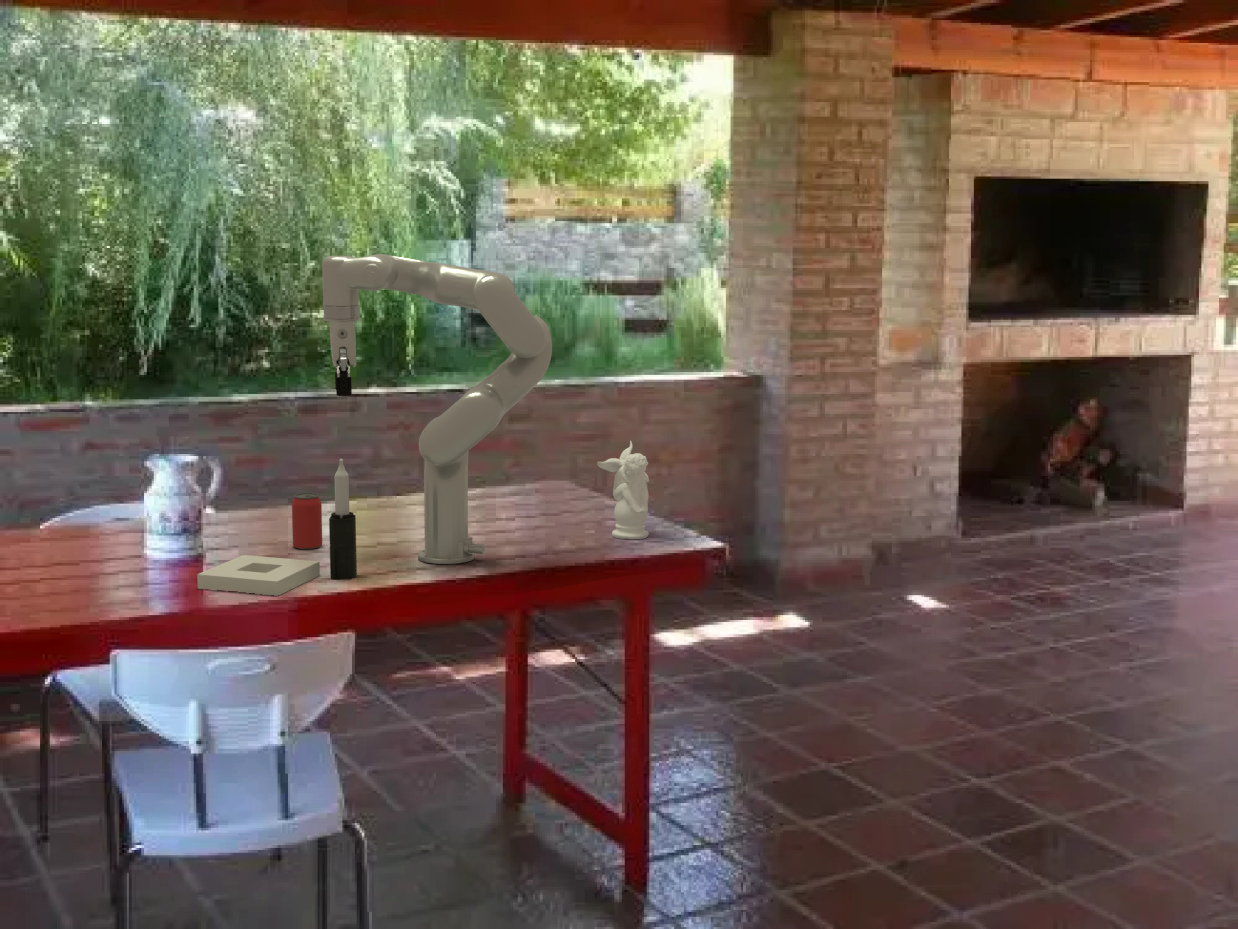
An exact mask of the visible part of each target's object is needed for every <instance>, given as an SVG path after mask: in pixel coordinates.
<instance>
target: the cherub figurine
mask: <svg viewBox="0 0 1238 929" xmlns="http://www.w3.org/2000/svg"><path fill="white" fill-rule="evenodd" d="M633 448H634V446H633V441H631V440H629V447H627V448H625V449H624V450H623V451H622V452H621V454H620V456H619V458H616V457H614V458H613V457H611V458H607V459H606V460H605V461H597V464H596V466H597V467H599V468H600V469H603V470H604V471H607V472H611V473H615V475H614V478H613V488H612V494H613V498H614V500H615V501H616V504H615V507H614V510H613V514H614V519H615V521H616V523H615V525H614V526H615V528H616V529H613V530H612V532H611V534H612V535H611V536H612V537H613V538H616V539H620V540H621V539H622V540H625V539H628V540H644V539H646V538H648V536H649V535H650V534H649V531H647V530H645V528H646V527H647V526H646V524H645V522H646V520H647V518H648V511H649V505H648V503H649V494H650V493H649V491H648V484H647V483H649V482H650V479H649V475H648V474H647V472H646V471H647V466H648V465H649V462H648V459H647V456H645V455H643V454H642V453H640V452H638V453H636V452H635V453H632V450H633Z"/></svg>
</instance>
